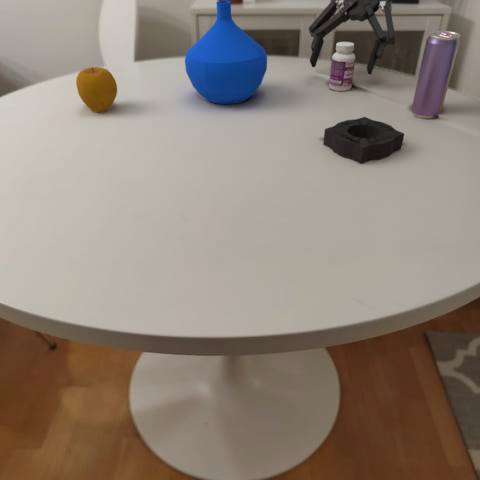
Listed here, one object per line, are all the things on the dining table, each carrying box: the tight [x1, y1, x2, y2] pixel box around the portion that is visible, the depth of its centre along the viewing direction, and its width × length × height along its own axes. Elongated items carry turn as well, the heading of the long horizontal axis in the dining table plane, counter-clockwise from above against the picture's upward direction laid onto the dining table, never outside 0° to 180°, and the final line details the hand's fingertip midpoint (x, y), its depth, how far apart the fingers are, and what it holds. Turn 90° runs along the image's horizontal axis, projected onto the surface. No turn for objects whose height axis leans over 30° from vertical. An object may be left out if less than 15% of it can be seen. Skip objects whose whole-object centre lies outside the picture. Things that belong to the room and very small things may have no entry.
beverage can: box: [410, 30, 461, 119], centre depth 91 cm, size 6×6×15 cm
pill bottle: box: [328, 41, 356, 92], centre depth 106 cm, size 5×5×10 cm
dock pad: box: [323, 116, 405, 165], centre depth 84 cm, size 11×11×3 cm
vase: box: [184, 0, 268, 105], centre depth 100 cm, size 18×18×19 cm
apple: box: [75, 66, 118, 113], centre depth 100 cm, size 8×8×9 cm
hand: (339, 67), depth 105 cm, fingers open, 13 cm apart
